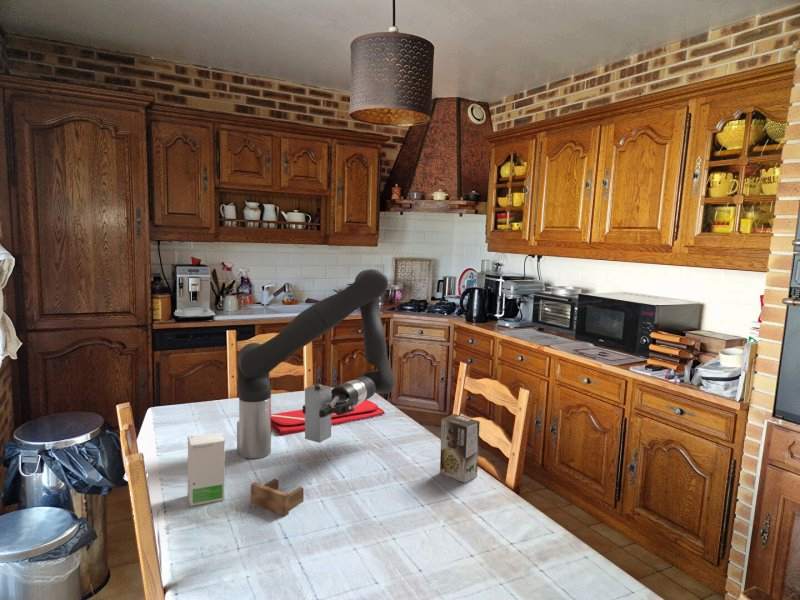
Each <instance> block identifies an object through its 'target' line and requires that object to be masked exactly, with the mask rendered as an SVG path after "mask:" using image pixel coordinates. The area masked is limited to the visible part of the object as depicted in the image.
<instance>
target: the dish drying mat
mask: <svg viewBox="0 0 800 600" xmlns="http://www.w3.org/2000/svg"><path fill="white" fill-rule="evenodd" d="M385 413H386V412H385V411H384V409H382V408H380V407H379V405H378V404H377V403H375V402H373V401H371V400H369V399H367V400H365V401H363V402H362V403H360V404H359V405H357V406H355V407H354V411H351V412H348V413H345V414H342V415H336V413H335V414H334V415H331V427H333V426H337V424H338V425H342V423H343V424H347V422H348V423H352V422H351V421H353V422H357V421H361V420H360V419H362V420H366V419H365V418H367V419H370V418H369V417H371V418H374V416H376V417H379V416H378V415H380V416H383V415H382V414H384V415H385ZM356 420H357V421H356ZM332 425H333V426H332ZM271 430H273V431H275V433H277V434H278V435H279V436H281V437H282V436H287V435H292V434H299V433H303V431H304V432H305V414H304V413H303V408H301V409H296V410H295V409H294V410H289V411H283V412H278V413H277V412H276V413H271Z"/></svg>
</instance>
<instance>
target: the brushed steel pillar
mask: <svg viewBox="0 0 800 600" xmlns="http://www.w3.org/2000/svg"><path fill="white" fill-rule="evenodd" d="M331 390H332V386H328V385H323V384H321V383H316V384H312V385H310V386H308V387H306V388H304V405H305V431H304V439H305V440H307V441H312V442H315V443H319V444H320V443H322V442H324V441H326V440H328V439H330V438H331V437H332V426H331V415H328V416H325V417H323V418H320V417H319V411H320V409H323V408H325V407H327V406H330V404H331Z"/></svg>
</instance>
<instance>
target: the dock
mask: <svg viewBox="0 0 800 600" xmlns="http://www.w3.org/2000/svg"><path fill="white" fill-rule="evenodd" d="M304 496H305V494H304V487H302V486H299V487H297V488H296V489H294V490H292V491H291V492H289V493H287V492H284V491H281V490H279V479H278V478H273V479H271V480H269V481H268V482H267V483H265V484H260V483H259V482H256V481H255V482H252V483H251V484H250V504H252V505H255V506H256V507H257V506H258V507H259V508H263V509H265V510H268V511H270V512H273V513H276V514H278V515H281V516H284V517H286V516H288V515H289V514H290V511H291V510H293V509H294V508H296V507H297V506H298V505H300V504H301V503H303V502H304Z"/></svg>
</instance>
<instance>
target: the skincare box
mask: <svg viewBox="0 0 800 600" xmlns="http://www.w3.org/2000/svg"><path fill="white" fill-rule="evenodd" d="M225 442H226V441H225V438H224V435H223V433H222V432H215V433H214V432H213V433H201V434H194V435H188V436H187V498H188V502H189V506H190V507H191V506H192V507H194V506H198V505H204V504H208V503H214V502H221V501H225V463H226V462H225V456H226V455H225V449H226V447H225V445H226V443H225Z"/></svg>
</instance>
